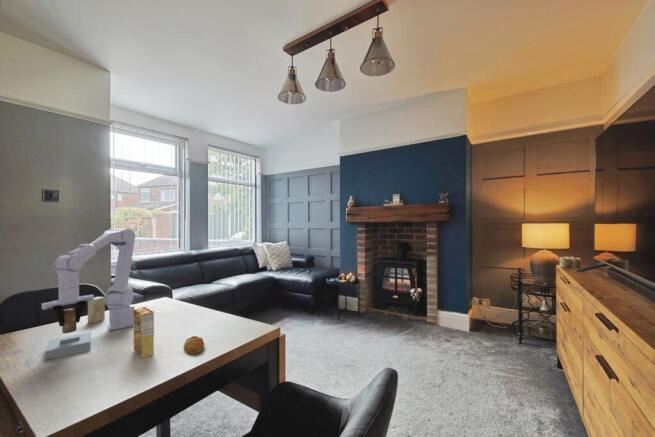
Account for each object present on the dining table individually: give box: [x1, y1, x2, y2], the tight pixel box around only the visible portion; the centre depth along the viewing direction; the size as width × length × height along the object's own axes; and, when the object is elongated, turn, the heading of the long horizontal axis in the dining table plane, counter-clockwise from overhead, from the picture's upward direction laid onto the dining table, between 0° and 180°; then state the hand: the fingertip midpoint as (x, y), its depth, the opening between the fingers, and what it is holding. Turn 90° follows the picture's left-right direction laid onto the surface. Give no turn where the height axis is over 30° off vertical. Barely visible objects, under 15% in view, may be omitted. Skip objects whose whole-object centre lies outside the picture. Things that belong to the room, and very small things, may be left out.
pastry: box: [183, 335, 205, 355], centre depth 107 cm, size 9×7×4 cm
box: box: [87, 296, 106, 324], centre depth 139 cm, size 5×4×11 cm
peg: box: [61, 307, 77, 334], centre depth 109 cm, size 4×4×8 cm
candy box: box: [133, 306, 155, 359], centre depth 105 cm, size 9×4×15 cm, turn 50°
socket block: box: [44, 332, 92, 361], centre depth 109 cm, size 12×12×3 cm
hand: (69, 323), depth 109 cm, fingers closed on peg, 4 cm apart
